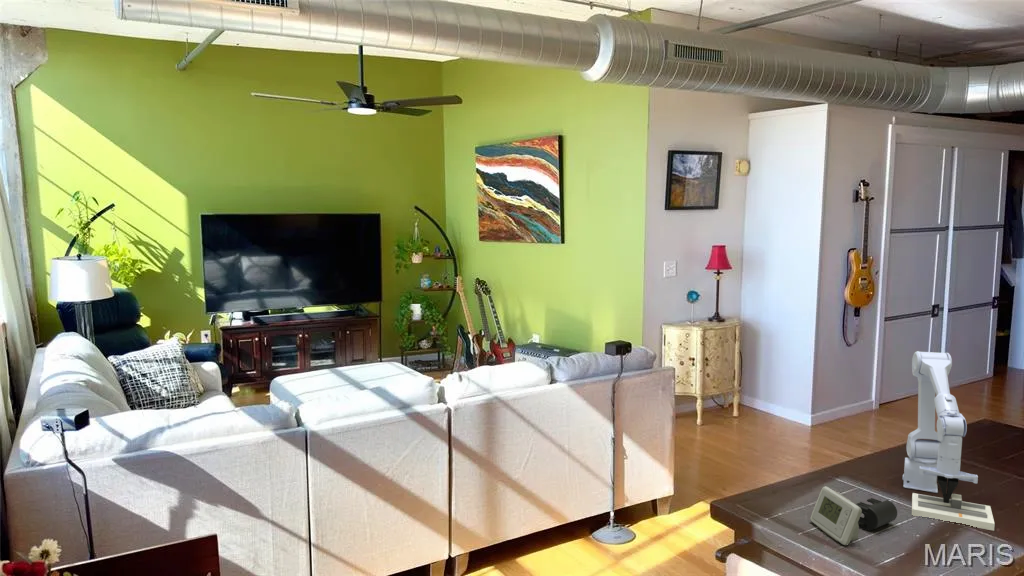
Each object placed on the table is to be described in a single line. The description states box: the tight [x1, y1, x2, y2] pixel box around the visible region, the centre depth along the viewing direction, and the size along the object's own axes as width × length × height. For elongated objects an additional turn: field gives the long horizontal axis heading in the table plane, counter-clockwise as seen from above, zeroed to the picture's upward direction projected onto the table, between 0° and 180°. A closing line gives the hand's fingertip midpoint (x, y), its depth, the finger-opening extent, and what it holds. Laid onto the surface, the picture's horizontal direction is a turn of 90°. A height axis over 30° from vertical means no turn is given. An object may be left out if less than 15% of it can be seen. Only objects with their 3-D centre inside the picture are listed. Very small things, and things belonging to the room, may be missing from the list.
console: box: [911, 492, 996, 532], centre depth 210 cm, size 20×14×3 cm
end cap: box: [855, 497, 898, 531], centre depth 202 cm, size 10×7×7 cm
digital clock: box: [810, 485, 863, 546], centre depth 197 cm, size 16×9×11 cm, turn 178°
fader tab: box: [950, 493, 963, 510], centre depth 210 cm, size 2×4×3 cm, turn 151°
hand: (946, 501), depth 211 cm, fingers closed
